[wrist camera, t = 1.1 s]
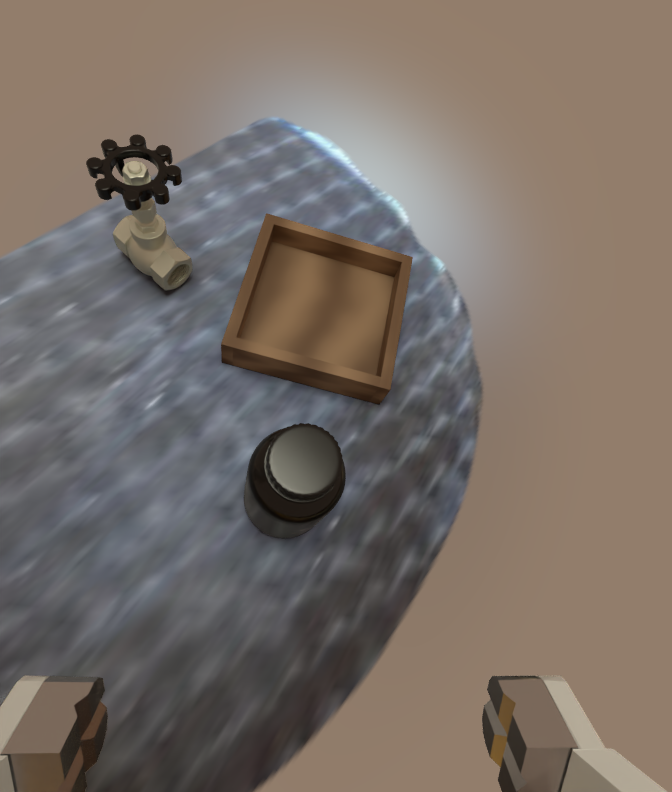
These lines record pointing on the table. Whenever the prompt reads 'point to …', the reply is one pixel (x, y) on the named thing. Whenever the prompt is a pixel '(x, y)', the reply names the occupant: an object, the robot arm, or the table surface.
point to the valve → (143, 209)
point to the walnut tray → (319, 310)
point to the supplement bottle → (293, 480)
